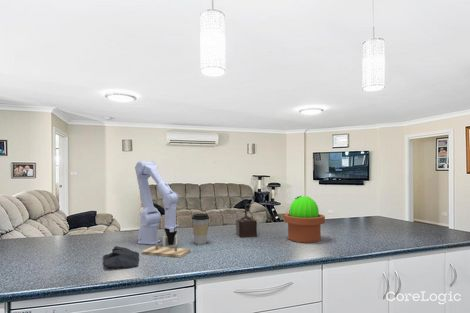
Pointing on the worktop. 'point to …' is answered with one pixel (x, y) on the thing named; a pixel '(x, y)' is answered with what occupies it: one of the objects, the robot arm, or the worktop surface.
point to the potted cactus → (304, 220)
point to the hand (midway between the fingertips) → (170, 243)
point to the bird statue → (246, 225)
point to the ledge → (166, 251)
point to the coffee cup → (200, 228)
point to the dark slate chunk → (121, 258)
